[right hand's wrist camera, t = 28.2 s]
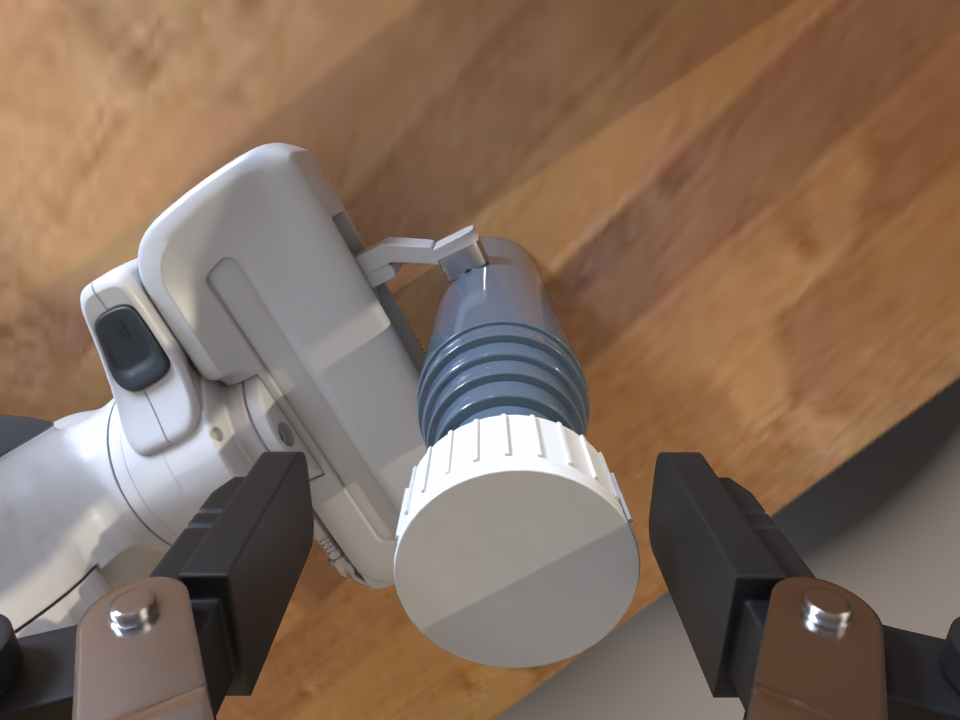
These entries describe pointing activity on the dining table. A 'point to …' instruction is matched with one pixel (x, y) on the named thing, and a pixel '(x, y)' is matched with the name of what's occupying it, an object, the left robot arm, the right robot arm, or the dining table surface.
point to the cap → (514, 544)
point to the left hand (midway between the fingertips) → (513, 309)
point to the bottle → (499, 350)
